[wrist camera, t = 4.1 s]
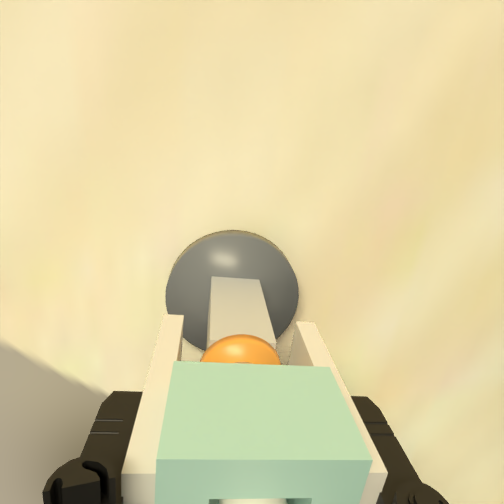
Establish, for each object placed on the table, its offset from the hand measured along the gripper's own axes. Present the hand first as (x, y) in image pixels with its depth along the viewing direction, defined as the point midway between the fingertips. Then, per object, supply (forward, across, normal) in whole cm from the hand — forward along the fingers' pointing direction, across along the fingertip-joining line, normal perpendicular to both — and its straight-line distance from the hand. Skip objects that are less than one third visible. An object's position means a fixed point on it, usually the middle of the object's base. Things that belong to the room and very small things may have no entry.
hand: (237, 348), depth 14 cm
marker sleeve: (-4, 0, 0) cm, 4 cm away
